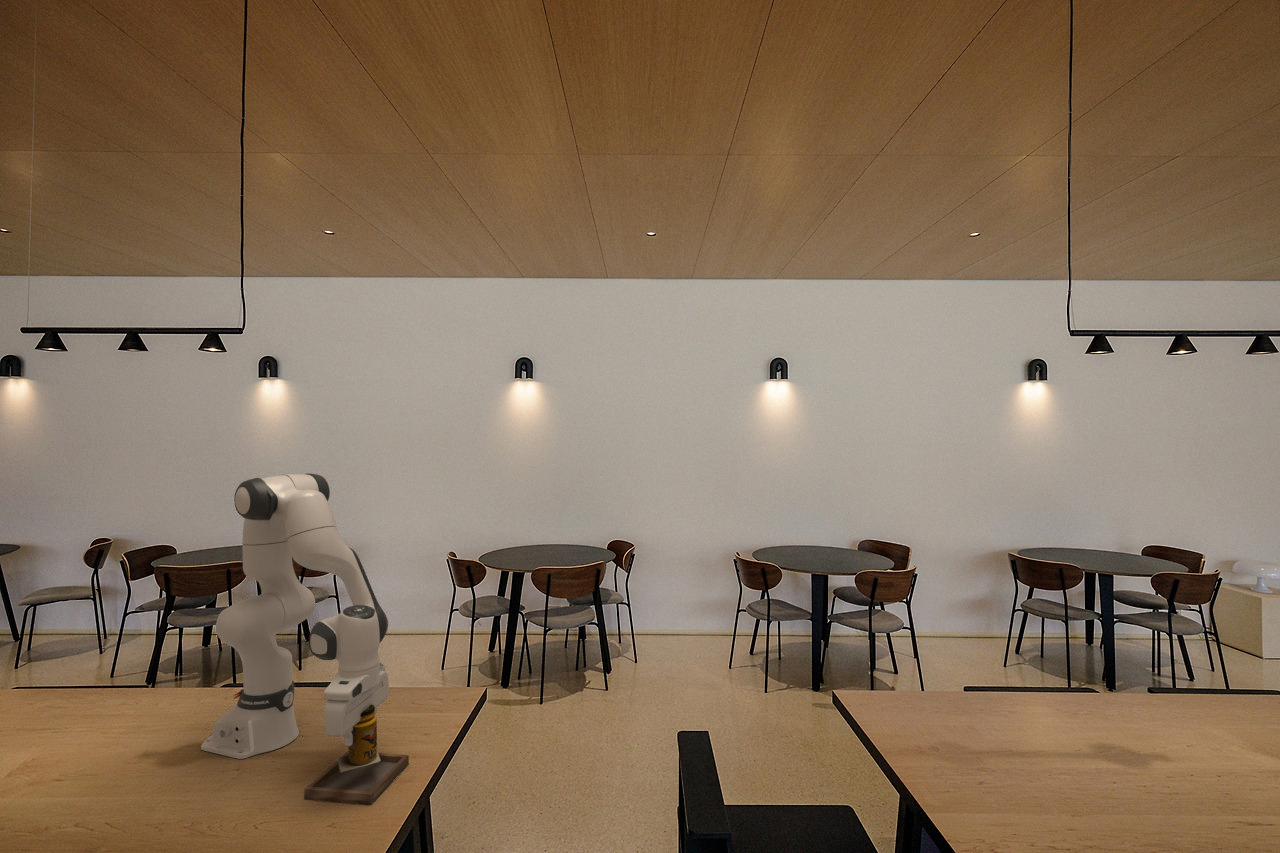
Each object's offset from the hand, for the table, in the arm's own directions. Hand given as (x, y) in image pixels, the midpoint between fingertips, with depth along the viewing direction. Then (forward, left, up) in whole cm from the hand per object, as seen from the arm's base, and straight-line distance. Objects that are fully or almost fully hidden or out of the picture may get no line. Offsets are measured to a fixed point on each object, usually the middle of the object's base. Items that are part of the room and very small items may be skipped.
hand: (359, 736), depth 139 cm
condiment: (0, 0, -6) cm, 6 cm away
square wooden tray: (0, 0, -11) cm, 11 cm away
